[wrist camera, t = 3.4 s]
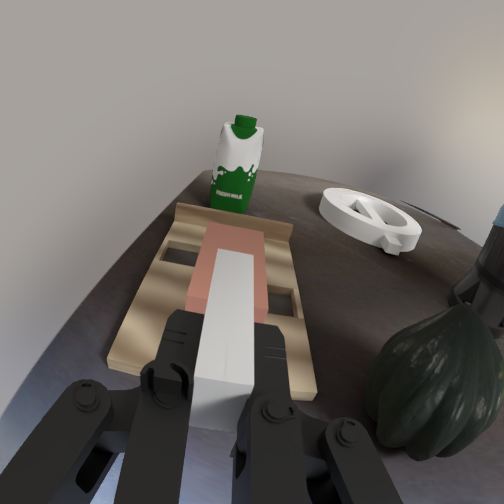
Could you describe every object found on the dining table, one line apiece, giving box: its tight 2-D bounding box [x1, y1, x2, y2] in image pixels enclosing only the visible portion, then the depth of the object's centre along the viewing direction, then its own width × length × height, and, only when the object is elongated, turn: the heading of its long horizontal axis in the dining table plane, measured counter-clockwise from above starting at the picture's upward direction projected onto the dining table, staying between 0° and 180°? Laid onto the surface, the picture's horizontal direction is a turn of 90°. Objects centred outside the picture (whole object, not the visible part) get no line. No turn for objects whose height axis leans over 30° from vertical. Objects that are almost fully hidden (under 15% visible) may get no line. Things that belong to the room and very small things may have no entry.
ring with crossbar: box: [319, 188, 422, 255], centre depth 77 cm, size 28×28×5 cm
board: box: [107, 203, 317, 401], centre depth 39 cm, size 32×20×4 cm, turn 0°
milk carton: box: [210, 115, 264, 215], centre depth 61 cm, size 9×9×20 cm
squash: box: [364, 302, 504, 461], centre depth 24 cm, size 14×15×15 cm
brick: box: [185, 222, 269, 324], centre depth 30 cm, size 13×6×9 cm, turn 0°
